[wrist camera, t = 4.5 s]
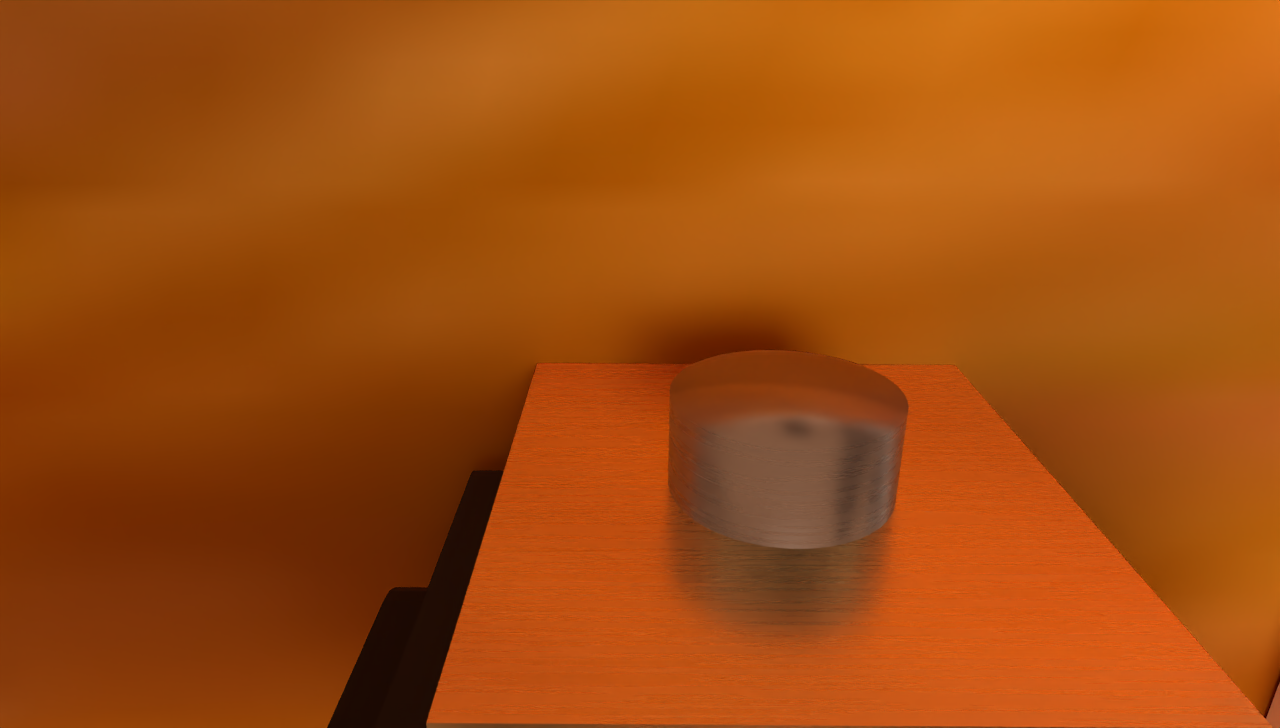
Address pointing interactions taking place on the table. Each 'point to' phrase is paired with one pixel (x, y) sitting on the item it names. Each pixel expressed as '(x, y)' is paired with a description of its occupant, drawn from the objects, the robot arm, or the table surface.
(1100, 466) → the table surface
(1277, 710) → the shaft frame
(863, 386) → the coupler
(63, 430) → the table surface
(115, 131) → the table surface
